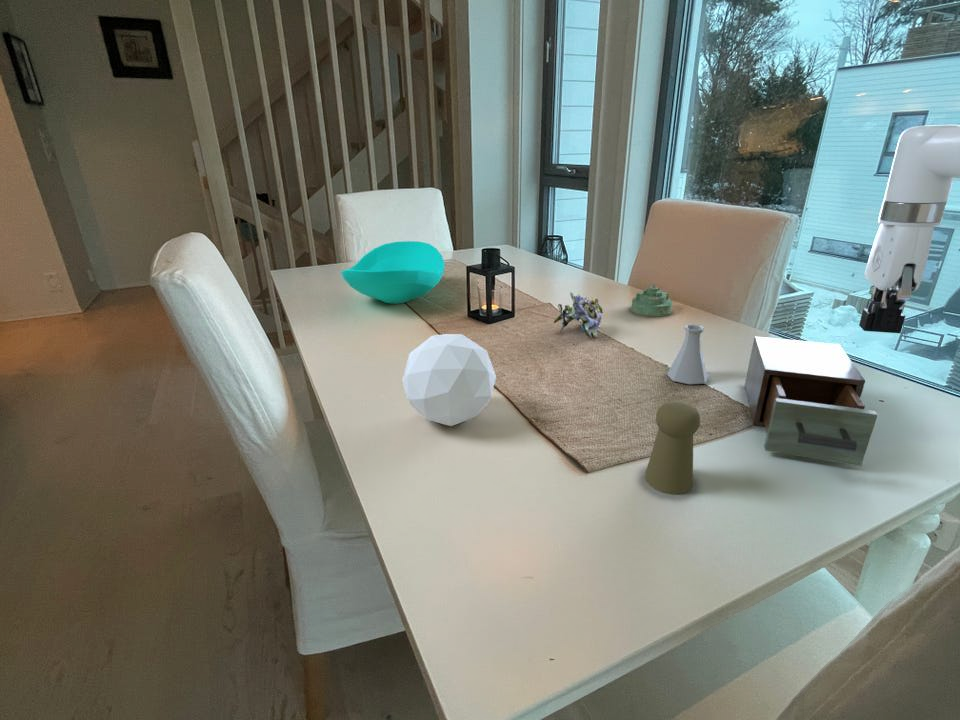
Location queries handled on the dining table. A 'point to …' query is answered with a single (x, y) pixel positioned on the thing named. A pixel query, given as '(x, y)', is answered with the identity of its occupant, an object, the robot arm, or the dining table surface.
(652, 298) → the decorative artifact
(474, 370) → the geometric sphere
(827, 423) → the drawer
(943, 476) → the dining table surface
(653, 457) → the olive pawn
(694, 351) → the flask
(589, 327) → the passion flower
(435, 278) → the table top decor
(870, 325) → the binder clip
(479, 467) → the dining table surface
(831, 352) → the cabinet
